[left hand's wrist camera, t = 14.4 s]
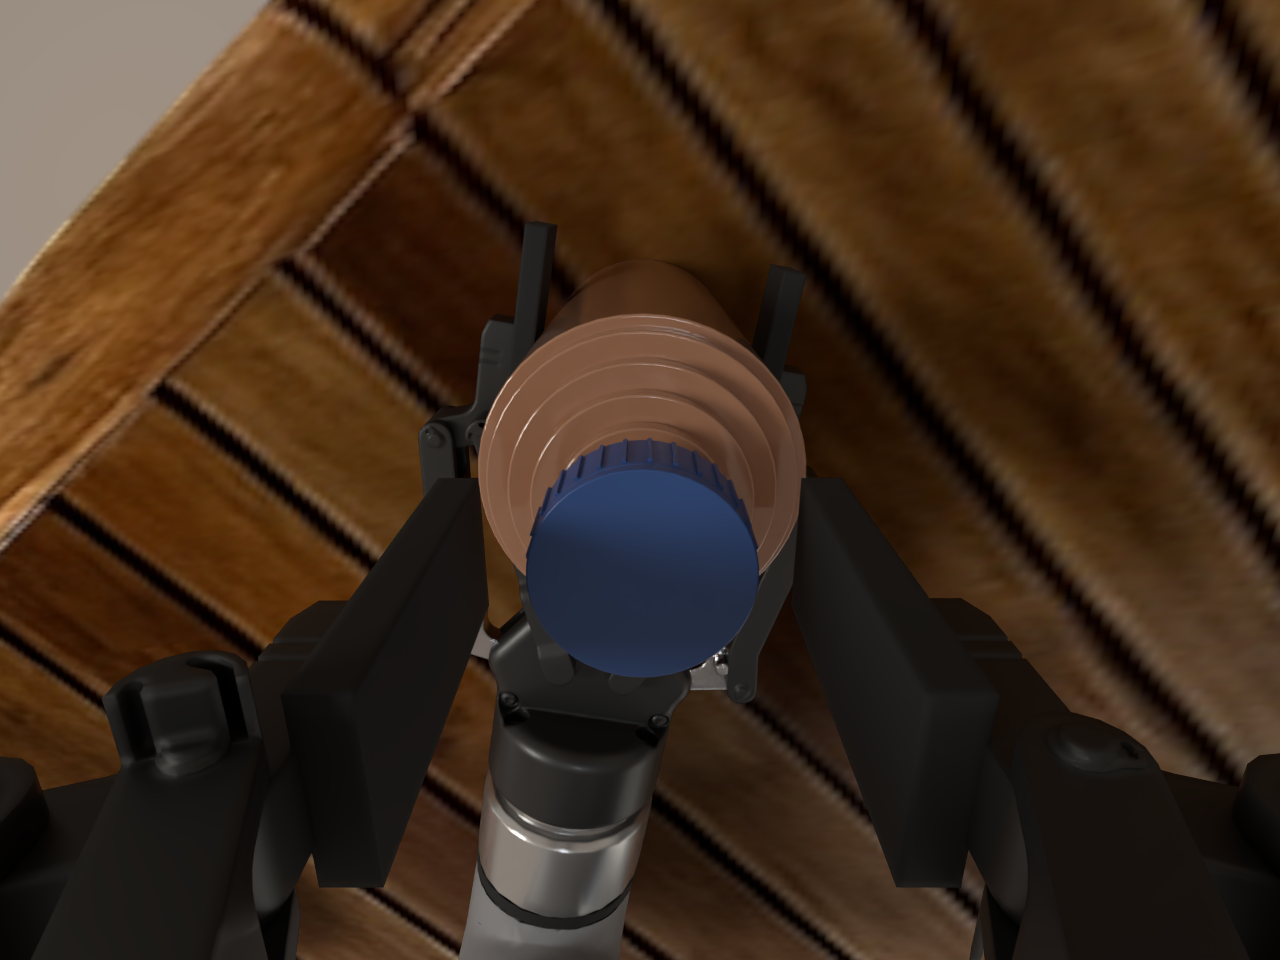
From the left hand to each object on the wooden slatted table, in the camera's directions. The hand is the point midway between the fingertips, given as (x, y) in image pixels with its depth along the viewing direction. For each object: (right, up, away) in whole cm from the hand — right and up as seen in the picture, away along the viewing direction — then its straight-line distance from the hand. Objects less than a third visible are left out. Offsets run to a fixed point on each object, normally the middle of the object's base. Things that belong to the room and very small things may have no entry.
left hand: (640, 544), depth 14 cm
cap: (0, 0, -1) cm, 1 cm away
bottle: (0, +7, +19) cm, 20 cm away
